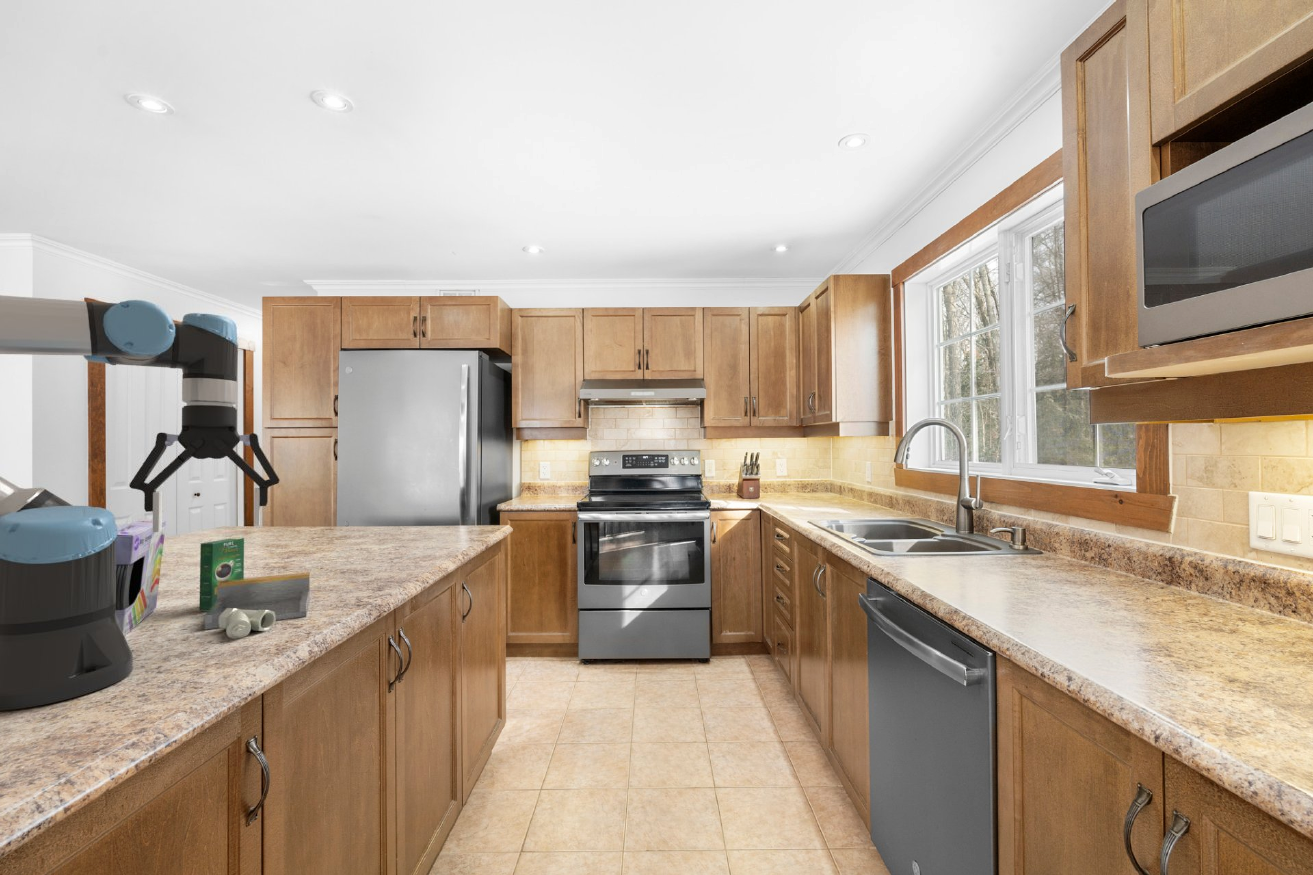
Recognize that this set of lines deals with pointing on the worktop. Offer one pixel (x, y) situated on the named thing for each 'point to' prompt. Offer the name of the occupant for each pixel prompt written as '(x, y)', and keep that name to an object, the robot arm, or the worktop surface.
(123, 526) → the cake pan box
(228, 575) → the coffee box
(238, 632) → the pipe fitting
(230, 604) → the grey tray
